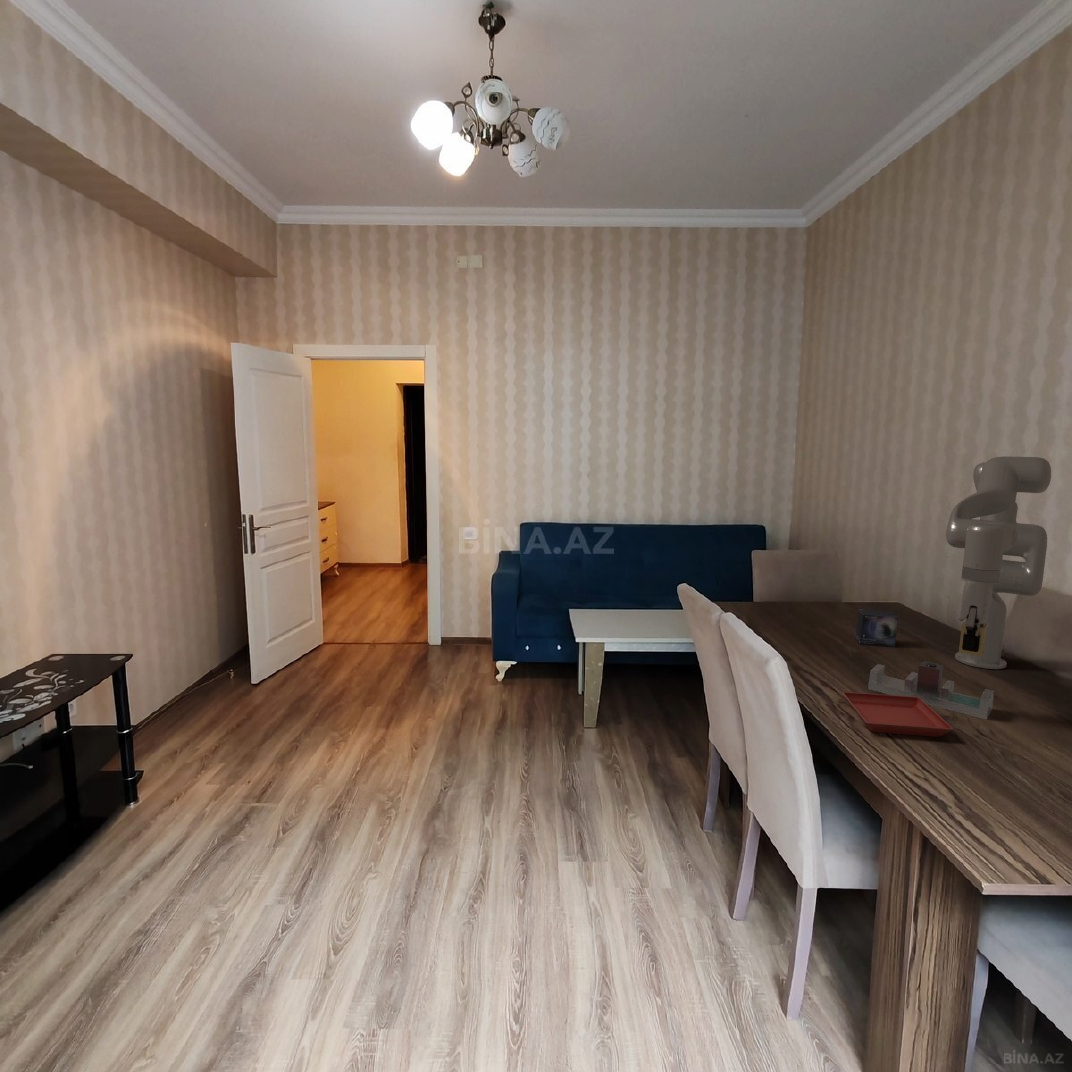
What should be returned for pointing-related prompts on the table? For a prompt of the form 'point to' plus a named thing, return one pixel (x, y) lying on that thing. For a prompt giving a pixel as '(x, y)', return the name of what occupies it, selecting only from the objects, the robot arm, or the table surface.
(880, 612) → the small box
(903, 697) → the plant saucer
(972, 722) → the table surface
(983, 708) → the rail
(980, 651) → the yellow tall block
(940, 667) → the dark knobbed cube
